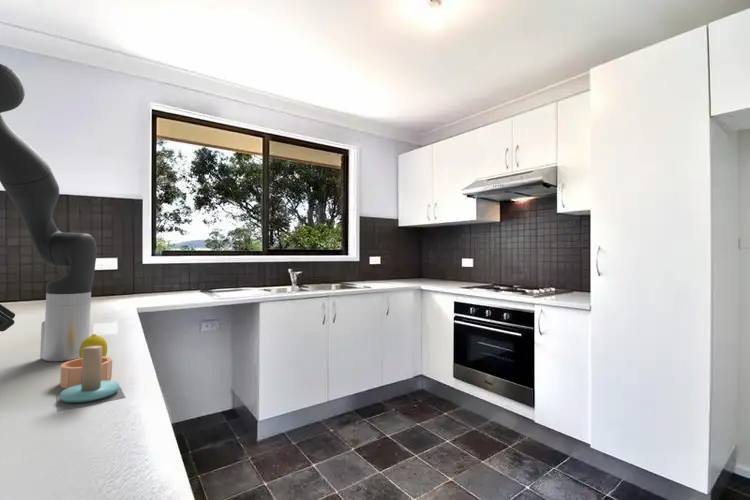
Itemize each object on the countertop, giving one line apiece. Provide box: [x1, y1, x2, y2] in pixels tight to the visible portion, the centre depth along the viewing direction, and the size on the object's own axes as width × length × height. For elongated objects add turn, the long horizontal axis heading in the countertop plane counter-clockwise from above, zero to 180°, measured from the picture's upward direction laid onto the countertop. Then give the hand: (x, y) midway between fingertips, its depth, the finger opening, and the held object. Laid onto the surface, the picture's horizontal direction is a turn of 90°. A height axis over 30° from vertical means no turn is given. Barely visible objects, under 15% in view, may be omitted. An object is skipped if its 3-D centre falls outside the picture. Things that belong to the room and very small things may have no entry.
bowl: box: [59, 356, 113, 389], centre depth 78 cm, size 9×9×4 cm
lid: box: [59, 346, 120, 402], centre depth 71 cm, size 9×9×9 cm
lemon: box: [79, 333, 108, 358], centre depth 89 cm, size 6×6×8 cm
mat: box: [55, 385, 126, 413], centre depth 70 cm, size 10×10×1 cm
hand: (10, 323), depth 63 cm, fingers open, 8 cm apart
